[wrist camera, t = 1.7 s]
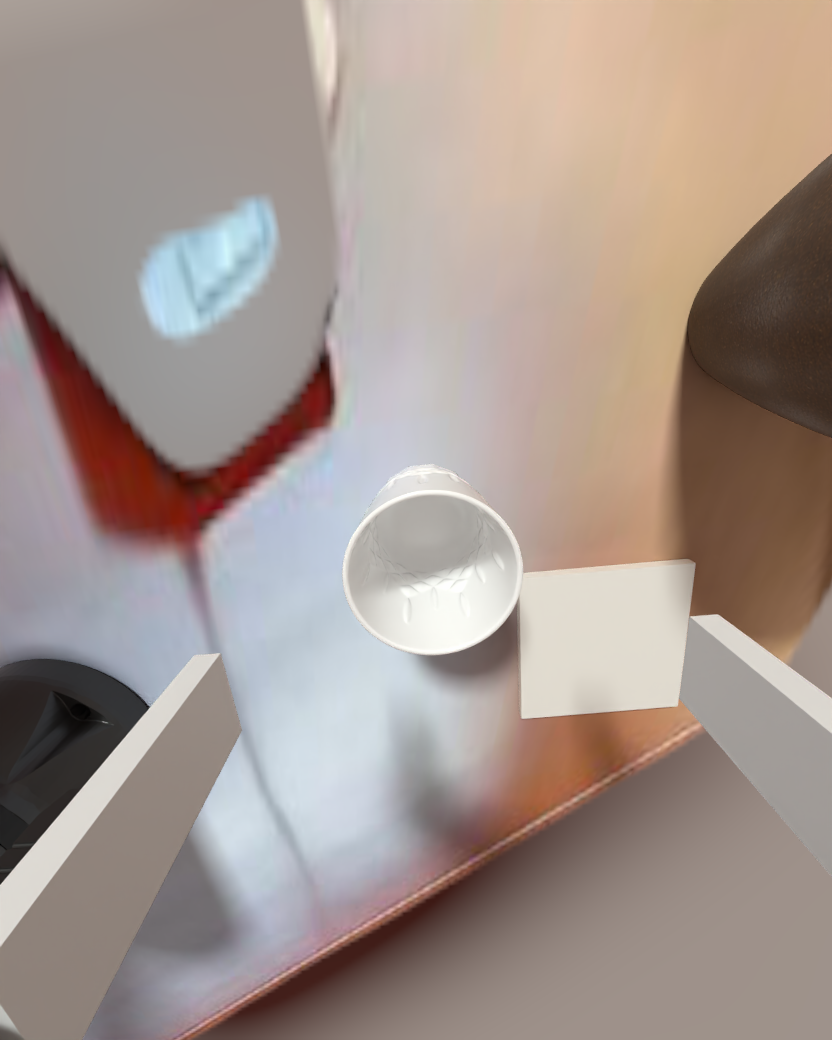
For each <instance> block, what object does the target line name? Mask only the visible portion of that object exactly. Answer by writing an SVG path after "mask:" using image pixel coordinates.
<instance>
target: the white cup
mask: <svg viewBox="0 0 832 1040" xmlns="http://www.w3.org/2000/svg"><path fill="white" fill-rule="evenodd" d="M342 579H343V587H344V592H345V596H346V599H347V601H348V604H349V606H350V608H351V610H352V612H353V614H354V615H355V617H356V618H357V620H358V621H359V622H360V623H361V625H362V626H363V627H364V628H365V629H366V630H367V631H368V632H369V633H370V634H372V635H373V636H374V637H376V638H377V639H378V640H380V641H382V642H383V643H385V644H387V645H389V646H391V647H393V648H396V649H398V650H401V651H404V652H408V653H413V654H419V655H444V654H450V653H455V652H458V651H462V650H465V649H467V648H470V647H472V646H474V645H476V644H478V643H480V642H481V641H483V640H485V639H486V638H488V637H489V636H490V635H492V634H493V633H494V632H495V631H496V630H497V629H498V628H499V627H500V626H501V625H502V624H503V623H504V622H505V621H506V619H507V618H508V617H509V615H510V614H511V612H512V610H513V609H514V607H515V605H516V603H517V600H518V598H519V595H520V591H521V587H522V581H523V561H522V555H521V551H520V548H519V545H518V542H517V540H516V538H515V536H514V534H513V532H512V531H511V529H510V528H509V526H508V525H507V524H506V522H505V521H504V520H503V519H502V518H501V517H500V516H499V515H498V514H497V512H496V511H495V510H494V509H493V508H492V507H491V506H490V505H489V504H488V503H487V501H486V500H485V499H484V498H483V497H482V496H481V495H480V494H479V493H478V492H477V491H476V490H475V489H474V488H473V487H472V486H471V485H470V484H468V483H467V482H466V481H465V480H463V479H462V478H460V477H459V476H458V475H457V474H456V473H455V472H454V471H451V470H448V469H445V468H442V467H440V466H437V465H434V464H426V465H417V466H409V467H407V468H405V469H404V470H402V471H401V472H399V473H397V474H396V475H394V476H393V477H391V478H389V479H388V481H387V483H386V484H385V486H384V487H383V488H382V489H381V490H380V491H379V492H378V494H377V495H376V497H375V498H374V500H373V501H372V503H371V504H370V506H369V507H368V509H367V510H366V512H365V514H364V516H363V518H362V520H361V522H360V523H359V525H358V527H357V529H356V531H355V532H354V534H353V536H352V538H351V540H350V542H349V544H348V546H347V549H346V552H345V556H344V561H343V569H342Z"/></svg>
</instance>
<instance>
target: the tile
mask: <svg viewBox="0 0 832 1040" xmlns="http://www.w3.org/2000/svg"><path fill="white" fill-rule="evenodd" d="M695 566H696V563H695V562H693V561H691V560H690V559H677V560H666V561H654V562H643V563H632V564H620V565H609V566H597V567H586V568H575V569H563V570H552V571H540V572H529V573H523V581H522V587H521V591H520V595H519V598H518V600H517V633H518V687H519V713H520V716H521V719H527V718H539V717H551V716H564V715H576V714H588V713H601V712H613V711H625V710H638V709H650V708H662V707H675V706H678V699H679V692H680V684H681V676H682V668H683V660H684V652H685V644H686V636H687V629H688V621H689V613H690V605H691V597H692V589H693V581H694V573H695Z"/></svg>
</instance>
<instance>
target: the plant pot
mask: <svg viewBox="0 0 832 1040" xmlns="http://www.w3.org/2000/svg"><path fill="white" fill-rule="evenodd" d="M688 338H689V343H690V348H691V351H692V354H693V356H694V358H695V360H696V362H697V363H698V364H699V366H700V367H701V368H702V369H703V370H704V371H705V372H706V373H707V374H709V375H710V376H711V377H713V378H714V379H715V380H717V381H718V382H720V383H721V384H723V385H724V386H726V387H727V388H729V389H731V390H732V391H734V392H735V393H737V394H739V395H741V396H742V397H744V398H746V399H748V400H750V401H751V402H753V403H755V404H757V405H759V406H761V407H763V408H765V409H767V410H769V411H771V412H773V413H775V414H777V415H779V416H781V417H784V418H786V419H788V420H790V421H792V422H794V423H797V424H799V425H801V426H804V427H806V428H809V429H811V430H813V431H816V432H818V433H821V434H823V435H826V436H828V437H831V438H832V154H831V155H830V156H829V157H827V158H826V159H825V160H824V161H823V162H822V163H821V164H819V165H818V166H817V167H816V168H815V169H814V170H813V171H812V172H811V173H810V174H808V175H807V176H806V177H805V178H804V179H803V180H802V181H801V182H800V183H799V184H797V185H796V186H795V187H794V188H793V189H792V190H791V191H790V192H789V193H788V194H787V195H785V196H784V197H783V198H782V199H781V200H780V201H779V202H778V203H777V204H776V205H775V206H774V207H773V208H772V209H771V210H770V211H769V212H768V213H767V214H766V215H765V216H764V217H763V218H762V219H760V220H759V221H758V222H757V223H756V224H755V225H754V226H753V227H752V228H751V229H750V231H749V232H748V233H747V234H746V235H745V236H744V237H743V238H742V239H741V240H740V241H739V242H738V243H737V244H736V245H735V246H734V247H733V248H732V249H731V251H730V252H729V253H728V254H727V255H726V256H725V257H724V258H723V259H722V260H721V262H720V263H719V264H718V265H717V266H716V267H715V268H714V270H713V271H712V272H711V273H710V274H709V276H708V277H707V278H706V280H705V281H704V282H703V284H702V286H701V287H700V289H699V291H698V293H697V295H696V297H695V300H694V302H693V305H692V309H691V312H690V316H689V323H688Z"/></svg>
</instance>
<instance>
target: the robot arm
mask: <svg viewBox="0 0 832 1040" xmlns="http://www.w3.org/2000/svg"><path fill="white" fill-rule="evenodd" d="M679 699H680V700H681V701H682V702H683V704H684V705H685V706H686V707H687V708H688V709H689V711H690V712H691V713H692V714H693V715H694V716H695V718H696V719H697V720H698V721H699V722H700V723H701V725H702V726H703V727H704V728H705V729H706V731H707V732H708V733H709V734H710V735H711V736H712V738H713V739H714V740H715V741H716V742H717V743H718V745H719V746H720V747H721V748H722V749H723V750H724V752H725V753H726V754H727V755H728V756H729V757H730V759H731V760H732V761H733V762H734V763H735V764H736V765H737V767H738V768H739V769H740V770H741V771H742V773H743V774H744V775H745V776H746V777H747V778H748V780H750V782H751V783H752V784H753V785H754V787H755V788H756V789H757V790H758V791H759V792H760V794H761V795H762V796H763V797H764V798H765V799H766V801H767V802H768V803H769V804H770V805H771V806H772V808H773V809H774V810H775V811H776V812H777V813H778V815H779V816H780V817H781V818H782V819H783V821H784V822H785V823H786V824H787V825H788V826H789V827H790V829H791V830H792V831H793V832H794V833H795V835H796V836H797V837H798V838H799V839H800V840H801V842H802V843H803V844H804V845H805V846H806V847H807V849H808V850H809V851H810V852H811V853H812V854H813V855H814V857H815V858H816V859H817V860H818V861H819V863H820V864H821V865H822V866H823V867H824V868H825V870H826V871H827V872H828V873H829V874H830V875H831V877H832V698H831V697H829V696H828V695H826V694H825V693H824V692H822V691H821V690H819V689H818V688H817V687H816V686H814V685H813V684H811V683H810V682H809V681H807V680H806V679H805V678H804V677H802V676H801V675H799V674H798V673H797V672H795V671H794V670H792V669H791V668H790V667H789V666H787V665H786V664H785V663H783V662H782V661H781V660H779V659H778V658H776V657H775V656H774V655H772V654H771V653H770V652H768V651H767V650H766V649H764V648H763V647H762V646H760V645H759V644H757V643H756V642H755V641H753V640H752V639H751V638H749V637H748V636H747V635H745V634H744V633H743V632H741V631H740V630H739V629H737V628H736V627H734V626H733V625H732V624H730V623H729V622H728V621H726V620H725V619H724V618H722V617H721V616H720V615H718V614H715V615H702V616H690V617H689V625H688V632H687V640H686V648H685V656H684V664H683V671H682V679H681V687H680V695H679ZM241 731H242V729H241V725H240V721H239V718H238V714H237V711H236V707H235V704H234V700H233V696H232V693H231V689H230V686H229V682H228V678H227V675H226V671H225V668H224V664H223V661H222V657H221V653H218V654H205V655H194V656H193V657H192V658H191V660H190V661H189V662H188V663H187V664H186V666H185V667H184V668H183V669H182V670H181V671H180V673H179V674H178V675H177V676H176V677H175V679H174V680H173V681H172V682H171V683H170V684H169V686H168V687H167V688H166V689H165V690H164V692H163V693H162V694H161V695H160V696H159V698H158V699H157V700H156V701H155V702H154V703H153V705H152V706H151V707H150V708H149V709H148V708H147V707H146V706H145V704H144V703H143V702H142V701H141V700H140V699H139V698H138V697H137V696H136V695H135V694H134V693H132V692H131V691H130V690H129V689H127V688H126V687H125V686H123V685H122V684H120V683H119V682H117V681H116V680H114V679H112V678H111V677H109V676H107V675H105V674H103V673H101V672H99V671H96V670H94V669H91V668H89V667H86V666H83V665H79V664H75V663H71V662H66V661H60V660H50V659H34V660H25V661H20V662H15V663H12V664H9V665H6V666H3V667H1V668H0V1040H82V1039H83V1037H84V1035H85V1033H86V1031H87V1029H88V1027H89V1026H90V1024H91V1022H92V1020H93V1018H94V1016H95V1014H96V1012H97V1010H98V1008H99V1006H100V1004H101V1002H102V1000H103V998H104V996H105V995H106V993H107V991H108V989H109V987H110V985H111V983H112V981H113V979H114V977H115V975H116V973H117V971H118V969H119V967H120V965H121V964H122V962H123V960H124V958H125V956H126V954H127V952H128V950H129V948H130V946H131V944H132V942H133V940H134V938H135V936H136V934H137V933H138V931H139V929H140V927H141V925H142V923H143V921H144V919H145V917H146V915H147V913H148V911H149V909H150V907H151V905H152V903H153V902H154V900H155V898H156V896H157V894H158V892H159V890H160V888H161V886H162V884H163V882H164V880H165V878H166V876H167V874H168V872H169V871H170V869H171V867H172V865H173V863H174V861H175V859H176V857H177V855H178V853H179V851H180V849H181V847H182V845H183V843H184V841H185V840H186V838H187V836H188V834H189V832H190V830H191V828H192V826H193V824H194V822H195V820H196V818H197V816H198V814H199V812H200V810H201V809H202V807H203V805H204V803H205V801H206V799H207V797H208V795H209V793H210V791H211V789H212V787H213V785H214V783H215V781H216V779H217V778H218V776H219V774H220V772H221V770H222V768H223V766H224V764H225V762H226V760H227V758H228V756H229V754H230V752H231V750H232V748H233V747H234V745H235V743H236V741H237V739H238V737H239V735H240V733H241Z"/></svg>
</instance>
